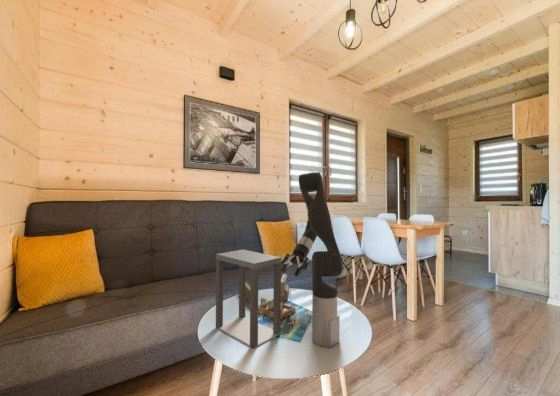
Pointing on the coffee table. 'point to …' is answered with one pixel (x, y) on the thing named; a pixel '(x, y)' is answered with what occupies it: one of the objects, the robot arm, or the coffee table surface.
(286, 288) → the digital clock
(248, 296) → the handheld radio
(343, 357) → the coffee table surface
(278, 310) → the grey stool
